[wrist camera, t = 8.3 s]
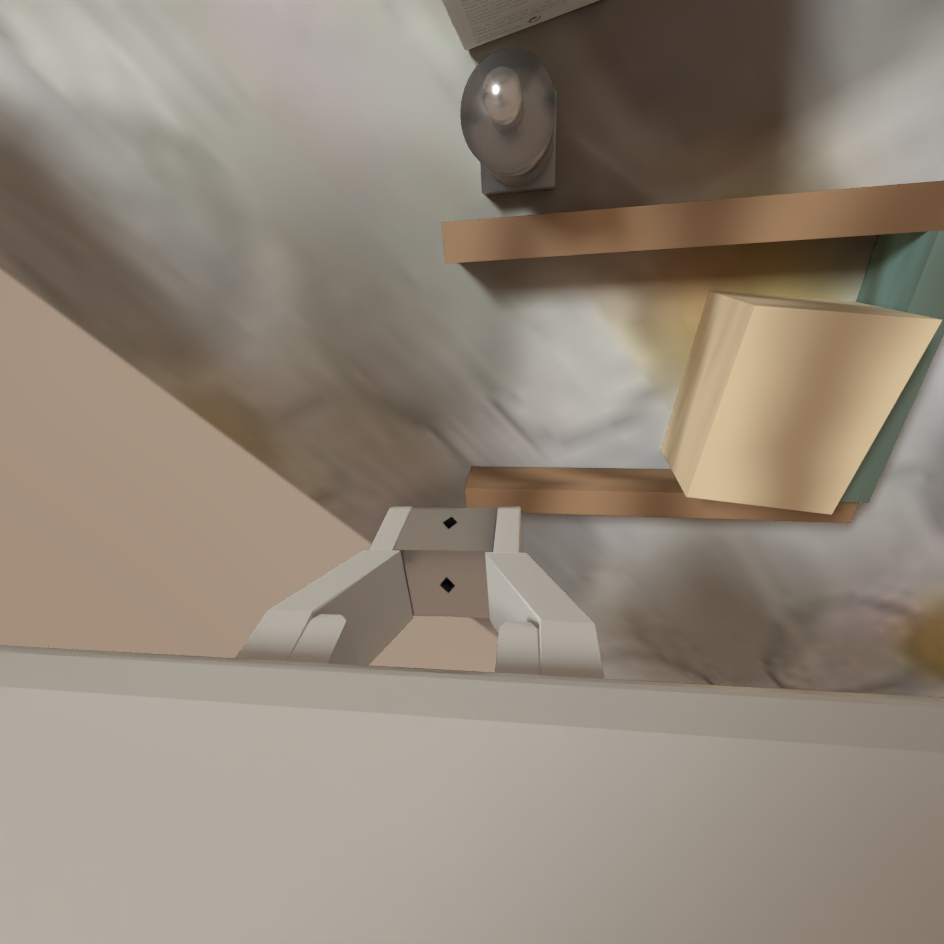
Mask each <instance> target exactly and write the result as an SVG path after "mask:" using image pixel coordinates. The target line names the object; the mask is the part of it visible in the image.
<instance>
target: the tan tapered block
mask: <svg viewBox="0 0 944 944" xmlns="http://www.w3.org/2000/svg"><path fill="white" fill-rule="evenodd" d="M941 322H942V320H941V319H936V318H931V317H927V316H922V315H917V314H912V313H907V312H902V311H898V310H893V309H888V308H883V307H878V306H873V305H869V304H864V303H859V302H854V301H842V300H828V299H814V298H801V297H787V296H773V295H760V294H746V293H732V292H719V291H709V293H708V296H707V299H706V303H705V306H704V309H703V312H702V316H701V319H700V322H699V326H698V329H697V332H696V336H695V339H694V342H693V345H692V349H691V352H690V355H689V359H688V362H687V365H686V368H685V372H684V375H683V378H682V382H681V385H680V388H679V392H678V395H677V398H676V401H675V405H674V408H673V411H672V415H671V418H670V421H669V424H668V428H667V431H666V434H665V438H664V441H663V444H662V448H661V451H662V453H663V455H664V457H665V459H666V460H667V462H668V464H669V466H670V468H671V470H672V471H673V473H674V475H675V477H676V479H677V481H678V482H679V484H680V486H681V488H682V490H683V492H684V494H685V495H686V497H691V498H699V499H707V500H715V501H723V502H732V503H740V504H748V505H756V506H764V507H773V508H781V509H789V510H797V511H805V512H813V513H822V514H830V515H832V513H833V512H834V510H835V508H836V506H837V505H838V503H839V501H840V499H841V498H842V496H843V494H844V492H845V491H846V489H847V487H848V485H849V484H850V482H851V480H852V478H853V477H854V475H855V473H856V471H857V469H858V468H859V466H860V464H861V462H862V461H863V459H864V457H865V455H866V454H867V452H868V450H869V448H870V447H871V445H872V443H873V441H874V440H875V438H876V436H877V434H878V433H879V431H880V429H881V427H882V426H883V424H884V422H885V420H886V418H887V417H888V415H889V413H890V411H891V410H892V408H893V406H894V404H895V403H896V401H897V399H898V397H899V396H900V394H901V392H902V390H903V389H904V387H905V385H906V383H907V382H908V380H909V378H910V376H911V374H912V373H913V371H914V369H915V367H916V366H917V364H918V362H919V360H920V359H921V357H922V355H923V353H924V352H925V350H926V348H927V346H928V345H929V343H930V341H931V339H932V338H933V336H934V334H935V332H936V331H937V329H938V327H939V325H940V323H941Z"/></svg>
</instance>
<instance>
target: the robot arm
mask: <svg viewBox="0 0 944 944" xmlns="http://www.w3.org/2000/svg"><path fill="white" fill-rule="evenodd" d="M413 616H455V617H470V618H485V619H490V621H491V623H492V625H493V627H494V628H495V630H496V632H497V634H498V645H497V657H496V668H495V673H493V672H476V671H458V670H440V669H423V668H404V667H385V666H368V665H369V664H370V663H371V662H372V661H373V660H374V659H375V658H376V657H377V656H378V655H379V654H380V653H381V652H382V651H383V649H384V648H385V647H386V646H387V645H388V644H389V643H390V642H391V641H392V640H393V639H394V638H395V637H396V636H397V635H398V633H400V631H401V630H402V629H403V628H404V627H405V626H406V625H407V624H408V623H409V622H410V621H411V620H412V619H413ZM0 944H944V698H943V697H925V696H907V695H889V694H871V693H853V692H835V691H817V690H799V689H781V688H763V687H745V686H727V685H709V684H691V683H672V682H653V681H634V680H615V679H604V674H603V668H602V662H601V656H600V651H599V645H598V639H597V633H596V628H595V623H594V622H593V621H592V620H591V619H590V618H589V617H588V616H587V615H586V614H585V613H584V612H583V611H582V610H581V609H580V608H579V607H578V606H577V605H576V604H575V603H574V602H573V600H572V599H571V598H570V597H569V596H568V595H567V594H566V593H565V592H564V591H563V590H562V589H561V588H560V587H559V586H558V585H557V584H556V583H555V582H554V581H553V580H552V579H551V578H550V577H549V576H548V574H547V573H546V572H545V571H544V570H543V569H542V568H541V567H540V566H539V565H538V564H537V563H536V562H535V561H534V560H533V559H532V558H531V557H530V556H529V555H528V554H527V553H522V540H521V508H520V507H498V508H456V507H420V506H414V507H412V506H393V507H391V508H390V509H389V510H388V512H387V514H386V516H385V518H384V520H383V522H382V524H381V526H380V528H379V530H378V532H377V534H376V536H375V538H374V540H373V543H372V545H371V547H370V549H369V550H362V551H360V552H358V553H357V554H355V555H354V556H352V557H350V558H349V559H347V560H346V561H344V562H343V563H341V564H339V565H338V566H336V567H335V568H333V569H332V570H330V571H328V572H327V573H325V574H324V575H322V576H321V577H319V578H317V579H316V580H314V581H313V582H311V583H310V584H308V585H306V586H305V587H303V588H302V589H300V590H299V591H297V592H295V593H294V594H292V595H291V596H289V597H288V598H286V599H284V600H283V601H281V602H280V603H278V604H276V605H275V606H273V607H272V608H270V609H269V610H268V611H267V612H266V613H265V615H264V616H263V618H262V619H261V621H260V622H259V624H258V625H257V626H256V628H255V629H254V631H253V633H252V634H251V635H250V637H249V638H248V640H247V641H246V643H245V644H244V646H243V647H242V649H241V650H240V651H239V653H238V654H237V656H236V657H235V658H223V657H204V656H186V655H168V654H150V653H132V652H115V651H97V650H79V649H61V648H43V647H25V646H8V645H0Z"/></svg>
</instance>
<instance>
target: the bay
mask: <svg viewBox="0 0 944 944" xmlns="http://www.w3.org/2000/svg"><path fill="white" fill-rule="evenodd" d="M442 231H443V243H444V254H445V264H448V263H462V262H477V261H492V260H507V259H522V258H537V257H552V256H567V255H582V254H597V253H612V252H627V251H642V250H656V249H671V248H686V247H701V246H716V245H731V244H746V243H761V242H776V241H791V240H806V239H821V238H836V237H850V236H865V235H879V236H878V239H877V242H876V245H875V248H874V251H873V254H872V257H871V260H870V263H869V266H868V269H867V272H866V275H865V278H864V281H863V283H862V286H861V289H860V292H859V295H858V298H857V301H856V302H859V303H864V304H869V305H873V306H878V307H883V308H888V309H893V310H898V311H902V312H907V313H912V314H917V315H922V316H927V317H931V318H936V319H941V320H942V322H941V323H940V325H939V327H938V329H937V331H936V332H935V334H934V336H933V338H932V339H931V341H930V343H929V345H928V346H927V348H926V350H925V352H924V353H923V355H922V357H921V359H920V360H919V362H918V364H917V366H916V367H915V369H914V371H913V373H912V374H911V376H910V378H909V380H908V382H907V383H906V385H905V387H904V389H903V390H902V392H901V394H900V396H899V397H898V399H897V401H896V403H895V404H894V406H893V408H892V410H891V411H890V413H889V415H888V417H887V418H886V420H885V422H884V424H883V426H882V427H881V429H880V431H879V433H878V434H877V436H876V438H875V440H874V441H873V443H872V445H871V447H870V448H869V450H868V452H867V454H866V455H865V457H864V459H863V461H862V462H861V464H860V466H859V468H858V469H857V471H856V473H855V475H854V477H853V478H852V480H851V482H850V484H849V485H848V487H847V489H846V491H845V492H844V494H843V496H842V498H841V499H840V501H839V503H838V505H837V506H836V508H835V510H834V512H833V513H832V515H830V514H822V513H813V512H805V511H797V510H789V509H781V508H773V507H764V506H756V505H748V504H740V503H732V502H723V501H715V500H707V499H699V498H691V497H686V495H685V494H684V492H683V490H682V488H681V486H680V484H679V482H678V481H677V479H676V477H675V475H674V473H673V471H672V470H671V469H616V468H539V467H471V470H470V473H469V476H468V479H467V482H466V485H465V499H466V508H498V507H520V508H521V513H545V514H577V515H610V516H643V517H676V518H708V519H741V520H774V521H807V522H840V523H850V522H851V520H852V518H853V515H854V513H855V511H856V508H857V506H858V504H859V502H869V500H870V498H871V496H872V494H873V491H874V489H875V487H876V485H877V482H878V480H879V478H880V476H881V473H882V471H883V469H884V467H885V464H886V462H887V460H888V458H889V455H890V453H891V451H892V449H893V446H894V444H895V442H896V440H897V437H898V435H899V433H900V431H901V428H902V426H903V424H904V422H905V419H906V417H907V415H908V413H909V410H910V408H911V406H912V404H913V401H914V399H915V397H916V395H917V392H918V390H919V388H920V386H921V383H922V381H923V379H924V377H925V374H926V372H927V370H928V368H929V365H930V363H931V361H932V359H933V356H934V354H935V352H936V350H937V347H938V345H939V343H940V341H941V338H942V336H943V334H944V181H934V182H922V183H910V184H898V185H886V186H874V187H862V188H850V189H838V190H826V191H814V192H802V193H790V194H778V195H766V196H754V197H742V198H730V199H718V200H706V201H694V202H682V203H670V204H658V205H646V206H634V207H622V208H610V209H598V210H586V211H574V212H562V213H550V214H538V215H526V216H514V217H502V218H490V219H478V220H466V221H454V222H442Z"/></svg>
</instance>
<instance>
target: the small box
mask: <svg viewBox="0 0 944 944" xmlns="http://www.w3.org/2000/svg"><path fill="white" fill-rule="evenodd" d="M596 1H599V0H442V2H443V4H444V6H445V8H446V10H447V12H448V15H449V17H450V19H451V21H452V24H453V26H454V28H455V30H456V32H457V34H458V36H459V39H460V41H461V43H462V45H463V47H464V49H465V50H469V49H472V48H474V47H477V46H479V45H482V44H485V43H487V42H490V41H493V40H495V39H498V38H501V37H503V36H506V35H509V34H511V33H514V32H517V31H519V30H522V29H525V28H528V27H530V26H533V25H536V24H538V23H541V22H544V21H546V20H549V19H552V18H554V17H557V16H559V15H562V14H565V13H567V12H570V11H573V10H575V9H578V8H581V7H583V6H586V5H589V4H591V3H594V2H596Z"/></svg>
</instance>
